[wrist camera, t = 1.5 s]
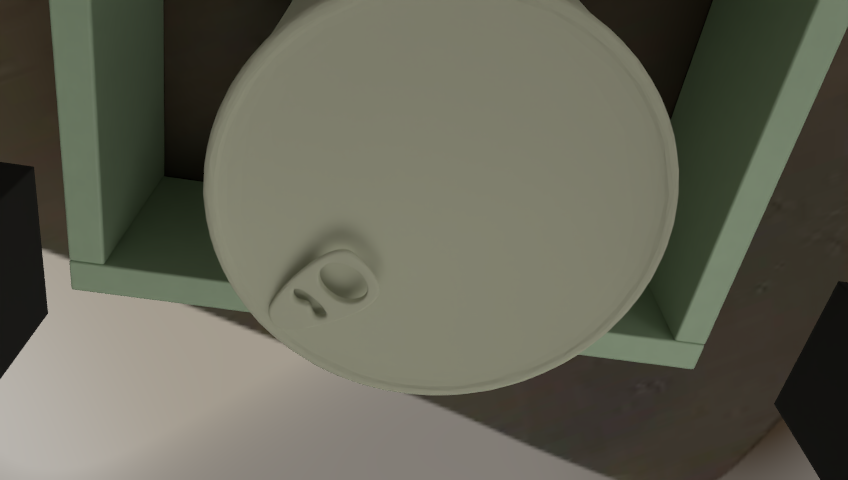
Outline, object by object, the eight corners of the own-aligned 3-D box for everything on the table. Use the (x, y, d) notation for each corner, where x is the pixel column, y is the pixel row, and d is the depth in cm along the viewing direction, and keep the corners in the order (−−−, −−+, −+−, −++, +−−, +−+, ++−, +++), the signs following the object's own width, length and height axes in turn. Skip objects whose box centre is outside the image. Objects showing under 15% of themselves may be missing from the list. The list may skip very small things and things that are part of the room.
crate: (124, -266, 20) (23, -291, 15) (794, -135, 22) (912, -115, 17) (136, 196, 27) (70, 289, 22) (643, 267, 29) (694, 370, 24)
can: (227, 18, 24) (83, 183, 13) (467, -179, 21) (517, -162, 11) (402, 222, 28) (395, 474, 17) (624, 77, 25) (773, 273, 15)
